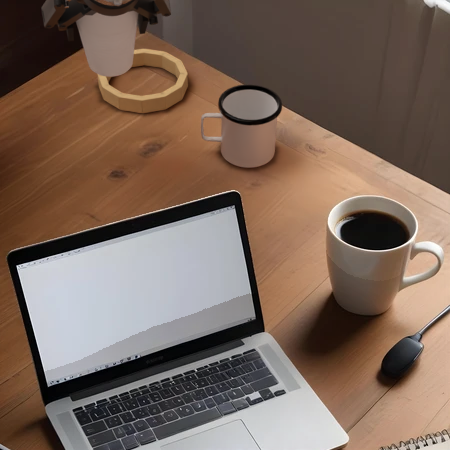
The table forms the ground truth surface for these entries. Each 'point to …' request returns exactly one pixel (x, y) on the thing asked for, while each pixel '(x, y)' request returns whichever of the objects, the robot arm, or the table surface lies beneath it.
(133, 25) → the cup
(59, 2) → the robot arm
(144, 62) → the tan faceted ring
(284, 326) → the table surface
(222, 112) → the mug
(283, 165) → the table surface
